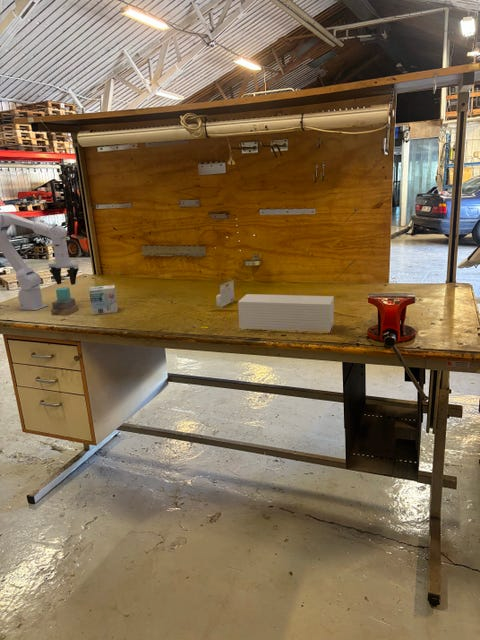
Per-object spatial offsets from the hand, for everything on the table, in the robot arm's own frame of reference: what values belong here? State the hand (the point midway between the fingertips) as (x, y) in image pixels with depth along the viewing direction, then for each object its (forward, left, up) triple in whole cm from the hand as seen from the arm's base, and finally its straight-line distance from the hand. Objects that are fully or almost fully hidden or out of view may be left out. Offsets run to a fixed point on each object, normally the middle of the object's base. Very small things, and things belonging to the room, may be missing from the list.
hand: (66, 284), depth 203 cm
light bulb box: (+22, -5, -11) cm, 25 cm away
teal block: (+4, -8, -5) cm, 11 cm away
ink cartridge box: (+71, +13, -11) cm, 73 cm away
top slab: (+5, -9, -8) cm, 13 cm away
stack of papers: (+104, -15, -11) cm, 106 cm away
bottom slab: (+5, -9, -11) cm, 15 cm away
